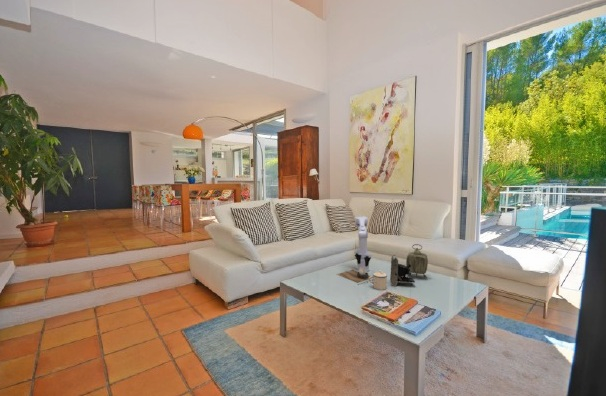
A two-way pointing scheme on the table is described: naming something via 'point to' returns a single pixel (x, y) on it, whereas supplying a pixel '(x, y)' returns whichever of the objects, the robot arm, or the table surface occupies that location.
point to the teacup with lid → (379, 280)
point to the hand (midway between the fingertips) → (362, 265)
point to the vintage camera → (399, 272)
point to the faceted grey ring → (362, 276)
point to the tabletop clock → (417, 262)
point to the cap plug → (362, 270)
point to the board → (352, 276)
